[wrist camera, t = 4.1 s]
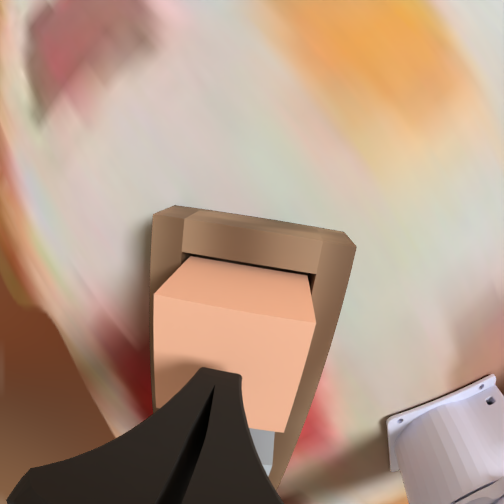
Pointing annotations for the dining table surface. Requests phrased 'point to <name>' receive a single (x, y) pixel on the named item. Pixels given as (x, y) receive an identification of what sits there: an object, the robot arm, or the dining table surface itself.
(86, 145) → the dining table surface
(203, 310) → the peach square block
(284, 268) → the wooden tray
